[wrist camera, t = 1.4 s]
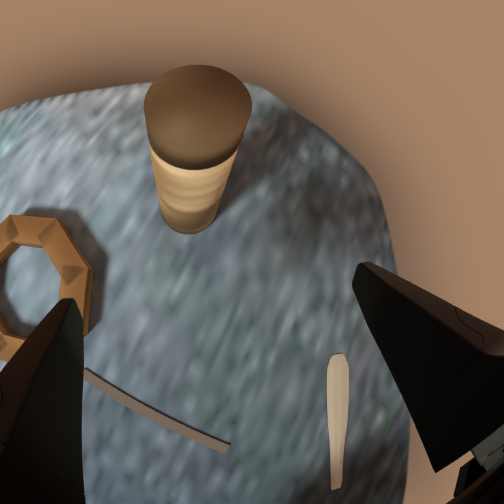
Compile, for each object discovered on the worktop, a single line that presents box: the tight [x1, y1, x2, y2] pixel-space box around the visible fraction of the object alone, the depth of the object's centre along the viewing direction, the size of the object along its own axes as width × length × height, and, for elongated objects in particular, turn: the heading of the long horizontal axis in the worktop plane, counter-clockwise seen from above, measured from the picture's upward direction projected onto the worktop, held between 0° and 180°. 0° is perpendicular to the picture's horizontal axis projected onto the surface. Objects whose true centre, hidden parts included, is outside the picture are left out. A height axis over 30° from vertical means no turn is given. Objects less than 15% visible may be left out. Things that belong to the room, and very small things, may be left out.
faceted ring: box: [0, 215, 94, 362], centre depth 18 cm, size 11×11×2 cm
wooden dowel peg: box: [144, 65, 252, 234], centre depth 17 cm, size 4×4×12 cm
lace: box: [83, 368, 230, 453], centre depth 19 cm, size 12×1×1 cm, turn 62°
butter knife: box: [327, 354, 349, 490], centre depth 21 cm, size 1×27×3 cm
